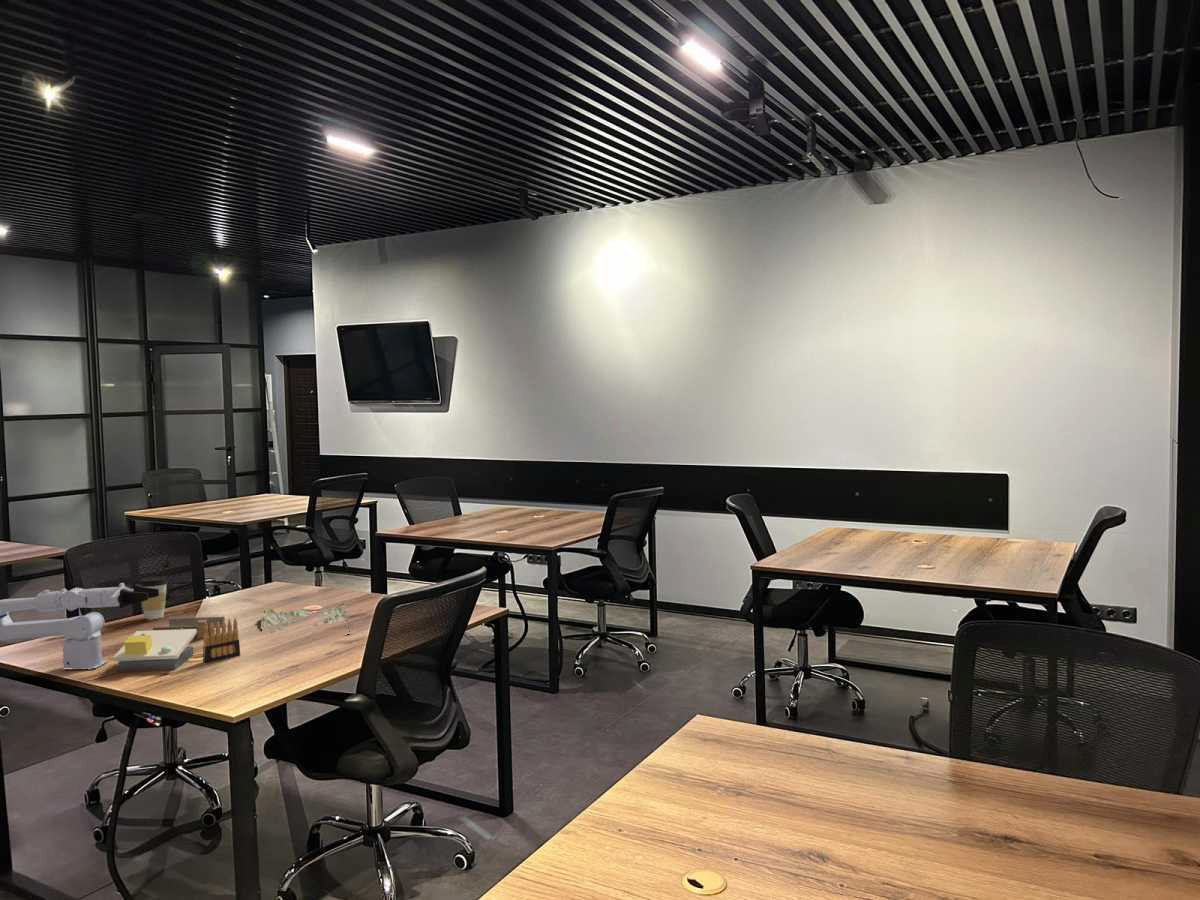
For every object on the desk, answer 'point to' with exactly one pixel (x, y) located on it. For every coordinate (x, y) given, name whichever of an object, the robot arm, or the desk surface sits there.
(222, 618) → the skate ramp
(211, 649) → the ammunition clip
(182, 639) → the plate
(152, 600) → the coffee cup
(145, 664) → the leveling base
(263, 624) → the topographic map model
